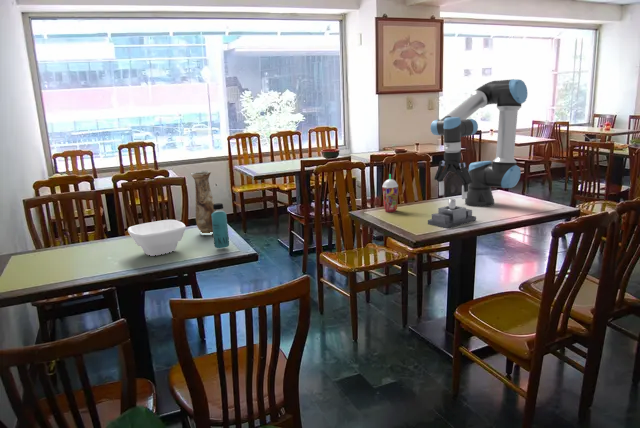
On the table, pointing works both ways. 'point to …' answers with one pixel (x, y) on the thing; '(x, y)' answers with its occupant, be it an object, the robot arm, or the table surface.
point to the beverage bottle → (220, 227)
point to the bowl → (157, 236)
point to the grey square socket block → (453, 213)
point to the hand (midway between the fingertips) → (452, 196)
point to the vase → (203, 201)
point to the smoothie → (390, 195)
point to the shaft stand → (444, 219)
